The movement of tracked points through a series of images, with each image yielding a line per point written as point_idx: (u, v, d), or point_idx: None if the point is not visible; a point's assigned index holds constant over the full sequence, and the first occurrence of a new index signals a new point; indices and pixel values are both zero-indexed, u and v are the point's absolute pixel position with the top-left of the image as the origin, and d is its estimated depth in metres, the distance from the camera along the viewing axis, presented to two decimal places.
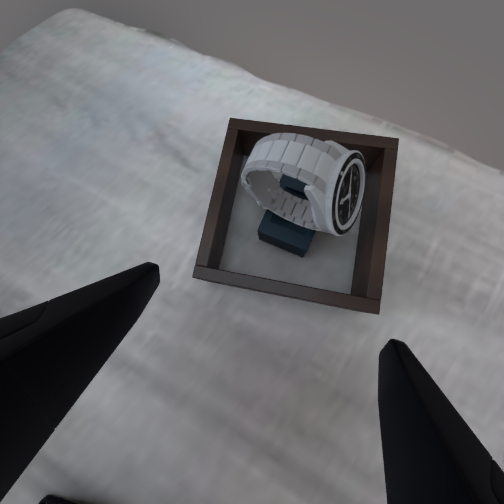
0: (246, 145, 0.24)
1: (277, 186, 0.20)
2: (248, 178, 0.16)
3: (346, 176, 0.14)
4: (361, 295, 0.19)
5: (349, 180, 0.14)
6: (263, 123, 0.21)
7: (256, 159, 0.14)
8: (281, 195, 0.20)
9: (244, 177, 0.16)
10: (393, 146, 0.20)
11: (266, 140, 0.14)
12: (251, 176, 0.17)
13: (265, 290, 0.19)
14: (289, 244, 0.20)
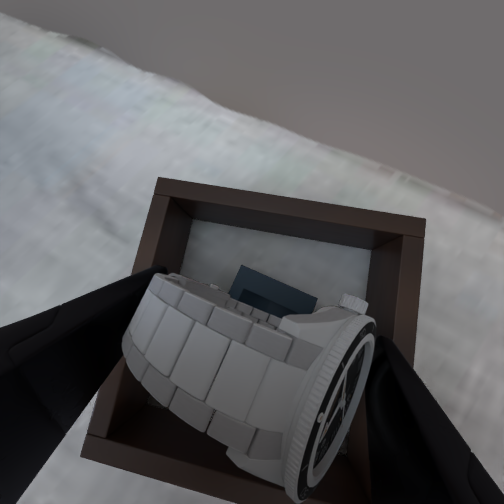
0: (191, 211, 0.16)
1: (225, 301, 0.12)
2: None
3: None
4: (365, 490, 0.11)
5: (342, 379, 0.07)
6: (209, 187, 0.13)
7: (134, 337, 0.06)
8: (233, 311, 0.12)
9: None
10: (416, 232, 0.12)
11: (158, 292, 0.06)
12: None
13: (199, 490, 0.11)
14: None
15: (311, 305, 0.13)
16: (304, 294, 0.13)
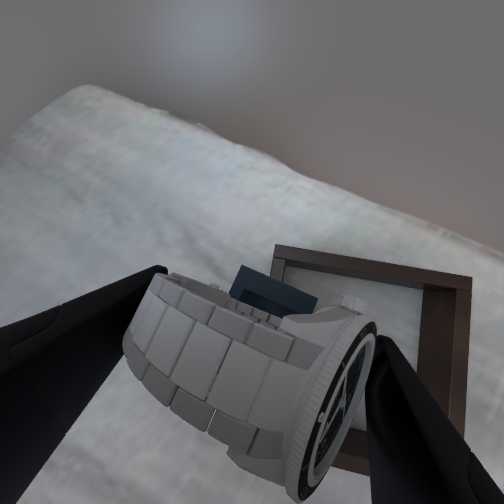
0: (290, 263, 0.21)
1: (225, 301, 0.12)
2: None
3: None
4: None
5: (342, 379, 0.07)
6: (314, 252, 0.19)
7: (134, 337, 0.06)
8: (234, 310, 0.12)
9: None
10: (466, 287, 0.18)
11: (159, 292, 0.06)
12: None
13: None
14: None
15: (311, 305, 0.13)
16: (304, 294, 0.13)
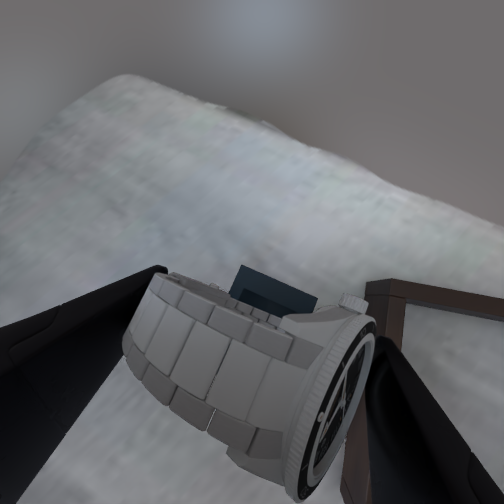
0: None
1: (225, 300, 0.12)
2: None
3: None
4: None
5: (342, 379, 0.07)
6: (444, 291, 0.15)
7: (134, 336, 0.06)
8: (234, 310, 0.12)
9: None
10: None
11: (158, 291, 0.06)
12: None
13: None
14: None
15: (311, 305, 0.13)
16: (304, 294, 0.13)
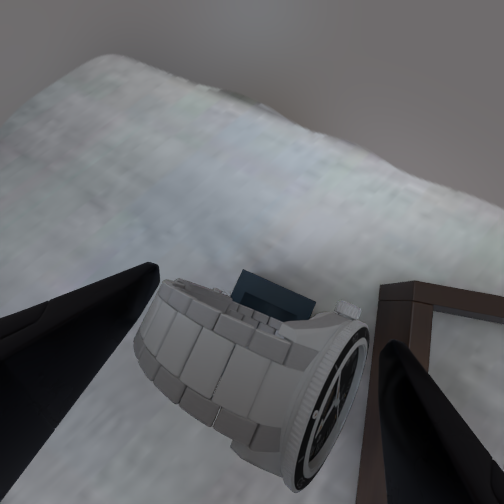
0: None
1: (227, 304, 0.12)
2: None
3: None
4: None
5: (336, 380, 0.07)
6: (479, 295, 0.12)
7: (145, 340, 0.07)
8: (235, 313, 0.13)
9: None
10: None
11: (167, 299, 0.07)
12: None
13: None
14: None
15: (310, 308, 0.13)
16: (303, 298, 0.13)
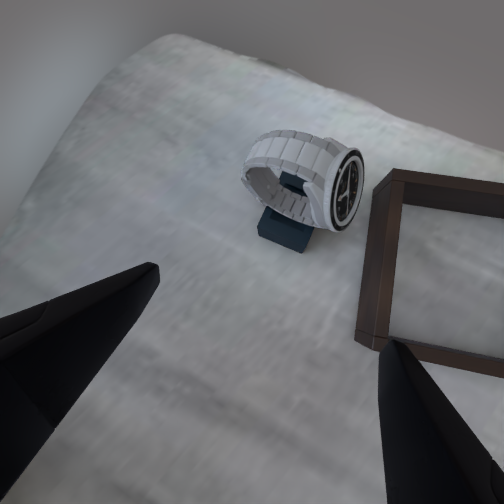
0: None
1: (277, 183, 0.20)
2: (248, 174, 0.17)
3: (344, 173, 0.14)
4: None
5: (347, 177, 0.15)
6: (433, 175, 0.20)
7: (256, 156, 0.14)
8: (281, 192, 0.20)
9: (244, 173, 0.16)
10: None
11: (266, 137, 0.15)
12: (251, 173, 0.17)
13: (459, 367, 0.17)
14: (288, 240, 0.21)
15: None
16: None
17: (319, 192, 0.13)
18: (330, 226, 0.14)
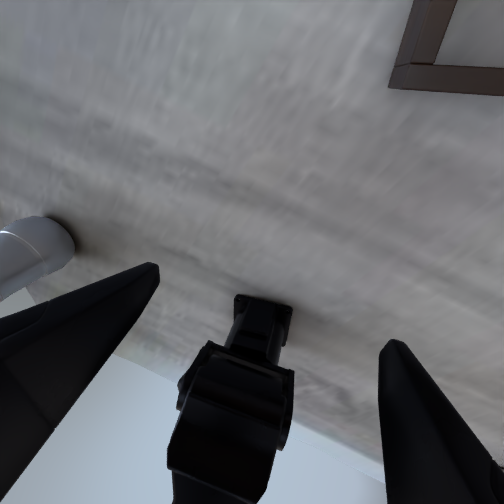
0: None
1: None
2: None
3: None
4: None
5: None
6: None
7: None
8: None
9: None
10: None
11: None
12: None
13: None
14: None
15: None
16: None
17: None
18: None
